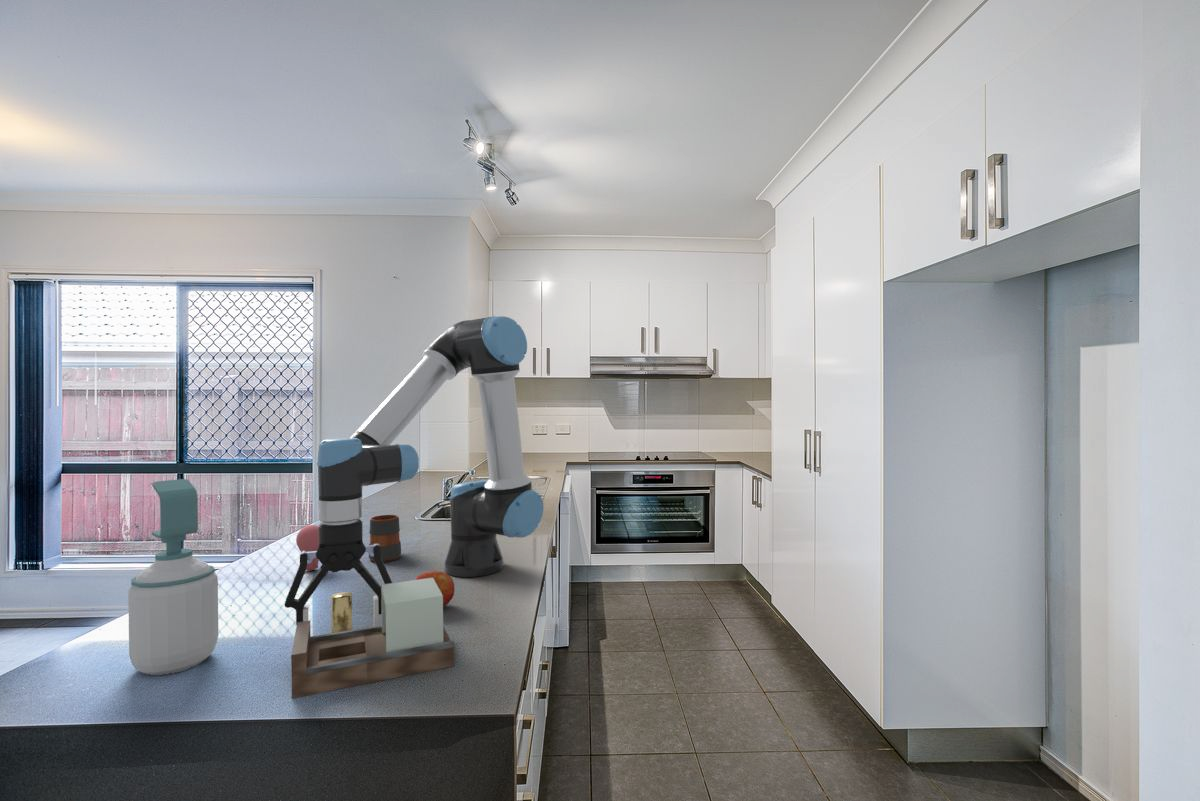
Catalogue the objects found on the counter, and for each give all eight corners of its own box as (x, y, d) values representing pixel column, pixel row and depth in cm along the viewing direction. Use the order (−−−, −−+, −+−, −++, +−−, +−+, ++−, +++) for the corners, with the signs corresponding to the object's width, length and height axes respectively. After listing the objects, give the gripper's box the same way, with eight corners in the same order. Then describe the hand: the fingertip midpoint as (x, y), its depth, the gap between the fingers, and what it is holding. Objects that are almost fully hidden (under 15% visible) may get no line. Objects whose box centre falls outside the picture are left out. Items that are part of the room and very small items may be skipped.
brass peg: (352, 632, 110) (351, 591, 110) (352, 639, 107) (352, 596, 107) (331, 635, 109) (331, 593, 109) (331, 643, 106) (330, 599, 106)
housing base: (440, 634, 109) (440, 600, 109) (454, 665, 96) (453, 626, 96) (297, 660, 99) (297, 622, 99) (291, 698, 86) (291, 655, 86)
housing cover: (433, 622, 107) (432, 577, 107) (443, 644, 97) (442, 595, 97) (381, 630, 103) (381, 584, 103) (386, 655, 93) (385, 604, 93)
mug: (407, 551, 170) (407, 511, 170) (396, 562, 158) (395, 520, 158) (378, 552, 170) (377, 512, 170) (364, 563, 158) (363, 521, 158)
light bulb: (332, 569, 153) (331, 524, 153) (306, 576, 147) (305, 529, 147) (316, 565, 156) (316, 521, 156) (290, 572, 150) (290, 526, 150)
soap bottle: (205, 641, 107) (203, 474, 107) (229, 660, 99) (227, 479, 99) (120, 666, 97) (117, 482, 97) (139, 689, 89) (136, 489, 89)
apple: (412, 605, 125) (412, 568, 125) (452, 599, 128) (451, 564, 128) (414, 617, 118) (414, 578, 118) (456, 612, 120) (455, 574, 120)
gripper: (404, 511, 116) (405, 619, 116) (270, 523, 106) (271, 640, 106) (409, 518, 109) (410, 632, 109) (265, 531, 100) (267, 657, 100)
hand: (341, 636), depth 108 cm, fingers open, 11 cm apart
